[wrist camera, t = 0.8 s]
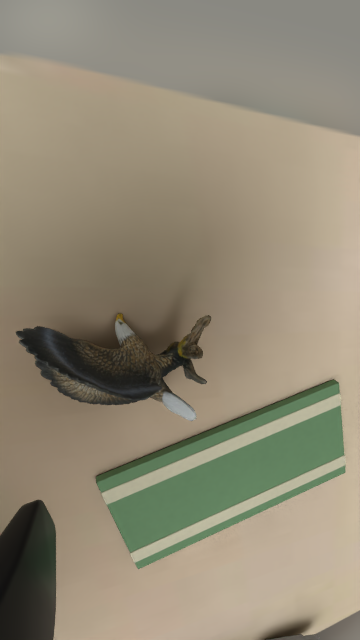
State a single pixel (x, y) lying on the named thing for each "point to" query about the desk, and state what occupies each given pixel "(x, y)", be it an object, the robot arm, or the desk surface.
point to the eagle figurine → (114, 366)
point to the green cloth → (226, 474)
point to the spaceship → (299, 637)
